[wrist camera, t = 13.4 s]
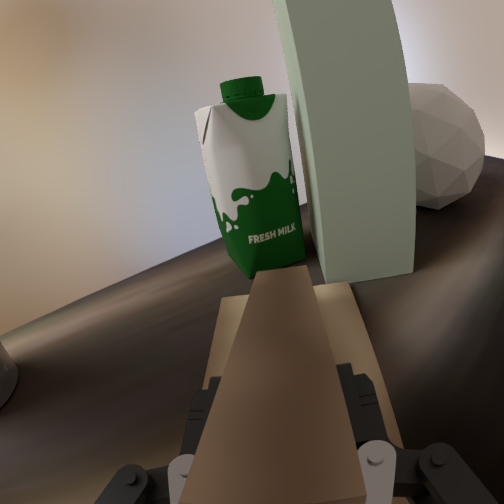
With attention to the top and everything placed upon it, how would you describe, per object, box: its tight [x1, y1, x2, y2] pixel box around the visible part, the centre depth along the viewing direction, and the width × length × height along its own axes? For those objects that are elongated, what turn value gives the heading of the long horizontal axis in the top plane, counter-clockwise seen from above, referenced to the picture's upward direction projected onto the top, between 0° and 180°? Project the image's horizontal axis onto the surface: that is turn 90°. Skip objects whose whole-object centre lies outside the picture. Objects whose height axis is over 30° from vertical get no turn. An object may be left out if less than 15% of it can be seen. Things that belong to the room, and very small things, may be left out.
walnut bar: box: [178, 265, 367, 504], centre depth 15 cm, size 4×21×4 cm, turn 177°
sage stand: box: [272, 0, 416, 284], centre depth 28 cm, size 9×13×32 cm
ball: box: [408, 83, 485, 210], centre depth 40 cm, size 19×20×20 cm
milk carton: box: [194, 76, 306, 279], centre depth 33 cm, size 9×9×20 cm
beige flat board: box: [202, 281, 410, 504], centre depth 18 cm, size 12×25×1 cm, turn 177°
